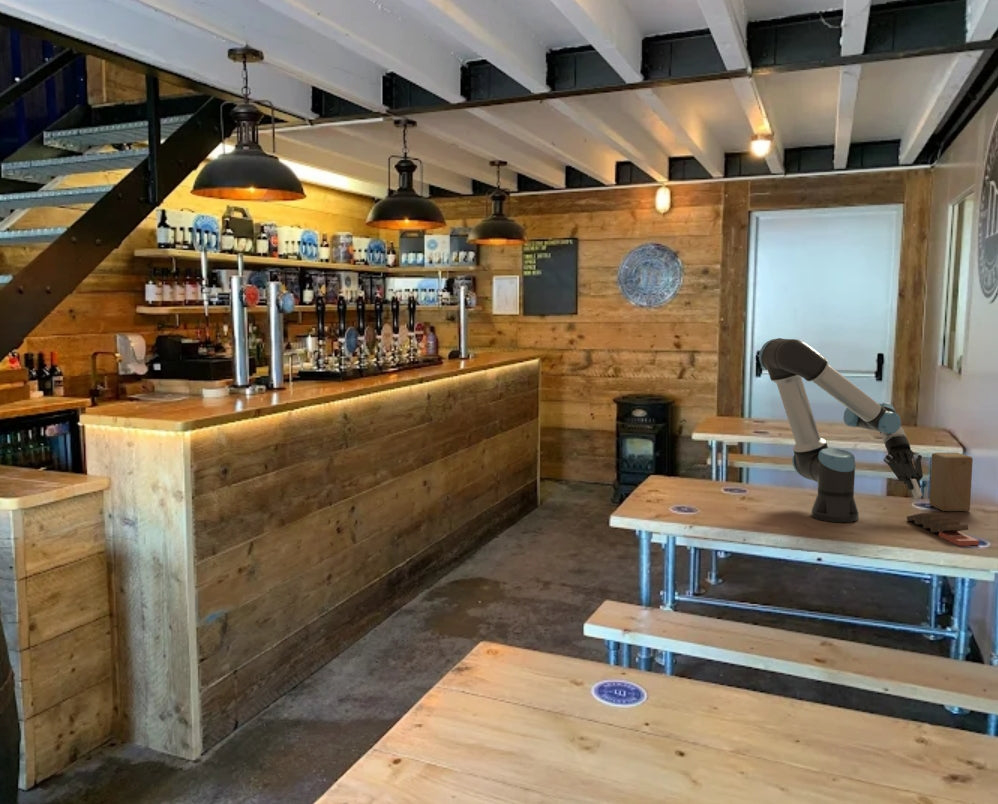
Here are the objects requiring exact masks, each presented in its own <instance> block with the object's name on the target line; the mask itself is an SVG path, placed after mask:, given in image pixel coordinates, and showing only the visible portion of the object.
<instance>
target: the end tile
mask: <svg viewBox="0 0 998 804" xmlns="http://www.w3.org/2000/svg"><path fill="white" fill-rule="evenodd" d="M939 536H940V537H939ZM938 537H939V538H941V537H942V538H941V539H943V538H944V539H943V540H945V539H946V541H947V540H948V541H947V542H950V543H952V544H955V545H956V546H958V545H959V546H958V547H966V546H967V547H969V546H970V545H979V546H980V540H978V539H976V538H974V537H972V536H970V535H967V534H965V533H962V532H961V531H946V532H939V533H938ZM970 547H971V546H970Z"/></svg>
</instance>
